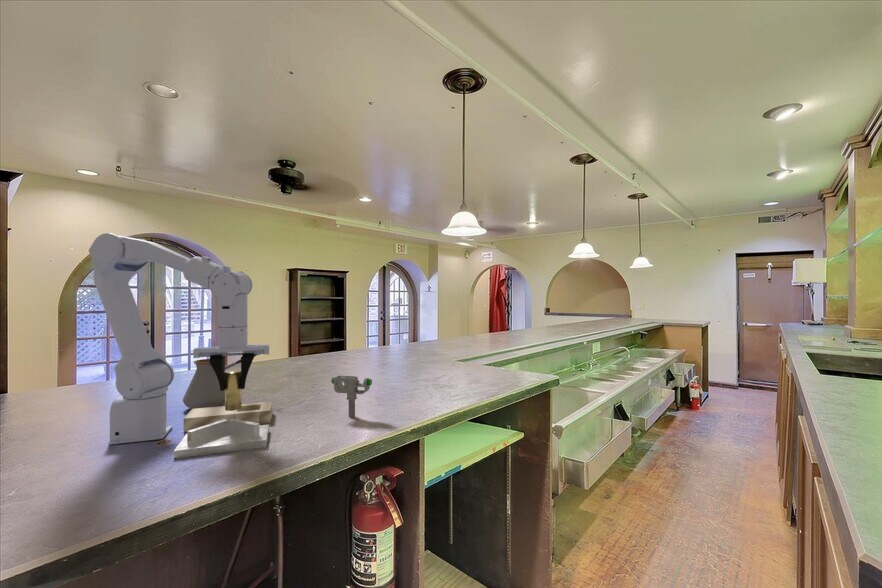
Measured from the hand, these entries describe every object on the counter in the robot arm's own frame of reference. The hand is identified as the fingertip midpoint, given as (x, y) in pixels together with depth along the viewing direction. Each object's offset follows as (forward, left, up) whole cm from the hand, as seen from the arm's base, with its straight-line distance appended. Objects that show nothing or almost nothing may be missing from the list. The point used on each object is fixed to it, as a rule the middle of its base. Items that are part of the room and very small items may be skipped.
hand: (232, 388), depth 86 cm
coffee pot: (-5, +28, -11) cm, 30 cm away
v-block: (-1, -4, -10) cm, 11 cm away
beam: (-2, +11, -10) cm, 15 cm away
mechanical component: (+26, +5, -11) cm, 29 cm away
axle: (0, +1, -4) cm, 4 cm away
